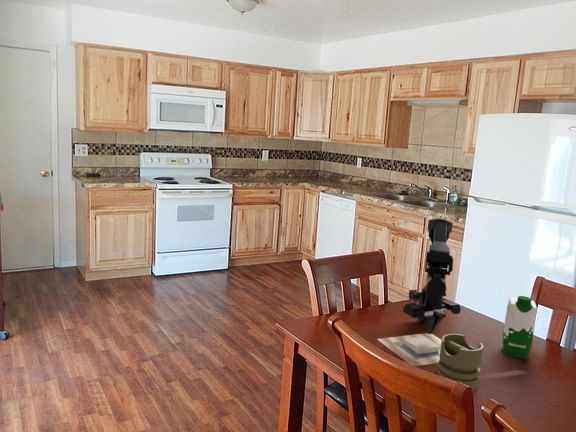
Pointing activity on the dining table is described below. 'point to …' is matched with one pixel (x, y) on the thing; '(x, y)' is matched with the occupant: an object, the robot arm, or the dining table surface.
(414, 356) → the board
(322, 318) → the dining table surface
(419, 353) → the tile
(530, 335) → the milk carton
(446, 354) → the piston
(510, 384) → the dining table surface
